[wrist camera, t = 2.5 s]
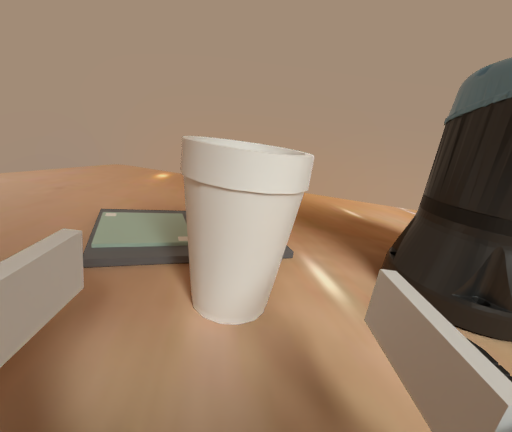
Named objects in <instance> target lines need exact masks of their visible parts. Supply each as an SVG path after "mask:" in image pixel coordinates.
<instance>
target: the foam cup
mask: <svg viewBox="0 0 512 432" xmlns="http://www.w3.org/2000/svg"><path fill="white" fill-rule="evenodd" d="M313 162H314V155H312V154H309V153H305V152H302V151H297V150H292V149H287V148H282V147H276V146H270V145H264V144H258V143H251V142H244V141H237V140H229V139H221V138H212V137H199V136H183V138H182V154H181V172H182V175H184V189H185V204H186V220H187V235H188V251H189V267H190V282H191V293H192V302H193V308H194V309H195V310H196V311H197V312H198V313H199V314H200V315H201V316H202V317H204V318H206V319H209V320H211V321H214V322H217V323H219V324H233V325H240V324H243V323H247V322H251V321H254V320H255V319H257V318H258V317H259V316H260V315H261V314H262V313H264V308H265V307H266V305H267V302H268V299H269V296H270V293H271V290H272V287H273V284H274V281H275V278H276V275H277V272H278V269H279V266H280V263H281V260H282V257H283V254H284V251H285V248H286V245H287V242H288V239H289V236H290V233H291V230H292V227H293V224H294V221H295V218H296V215H297V212H298V209H299V206H300V203H301V200H302V197H303V194H304V192H305V191H308V187H309V182H310V177H311V172H312V167H313Z"/></svg>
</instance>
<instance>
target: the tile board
mask: <svg viewBox="0 0 512 432" xmlns="http://www.w3.org/2000/svg"><path fill="white" fill-rule="evenodd" d="M292 257H293V251H292V250H291V249H290V248H289V247H288V246H287V245H286V248H285V251H284V254H283V257H282V258H292ZM169 263H189V251H188V235H187V220H186V211H169V210H127V209H101V210H100V213H99V215H98V218H97V220H96V223H95V225H94V228H93V230H92V233H91V236H90V238H89V241H88V243H87V246H86V248H85V251H84V253H83V267H104V266H126V265H148V264H169Z"/></svg>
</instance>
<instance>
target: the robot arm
mask: <svg viewBox="0 0 512 432" xmlns="http://www.w3.org/2000/svg"><path fill="white" fill-rule="evenodd" d="M444 125H445V129H444V132H443V135H442V138H441V142H440V145H439V148H438V151H437V154H436V157H435V160H434V163H433V166H432V170H431V172H430V175H429V179H428V182H427V185H426V188H425V191H424V194H423V197H422V200H421V203H420V206H419V209H418V211H417V213H416V215H415V216H414V218H413V219H412V220H411V222H410V223H409V224H408V226H407V227H406V228H405V230H404V231H403V232H402V233H401V235H400V236H399V237H398V239H397V240H396V242H395V243H394V244H393V246H392V247H391V248H390V249H389V251H388V252H387V254H386V257H385V260H384V263H383V267H382V269H380V271H379V274H378V277H377V280H376V284H375V287H374V290H373V293H372V297H371V300H370V303H369V306H368V310H367V313H366V316H365V319H364V320H365V322H366V324H367V325H368V327H369V329H370V330H371V332H372V334H373V335H374V337H375V338H376V340H377V342H378V343H379V345H380V347H381V348H382V350H383V352H384V353H385V355H386V357H387V358H388V360H389V362H390V363H391V365H392V367H393V368H394V370H395V371H396V373H397V375H398V376H399V378H400V380H401V381H402V383H403V385H404V386H405V388H406V390H407V391H408V393H409V395H410V396H411V398H412V400H413V401H414V403H415V405H416V406H417V408H418V409H419V411H420V413H421V414H422V416H423V418H424V419H425V421H426V423H427V424H428V426H429V428H430V429H431V431H432V432H512V377H511V376H510V374H509V373H508V372H507V371H506V370H505V369H504V368H503V367H502V366H501V365H498V362H497V361H496V360H494V359H493V358H492V357H491V356H490V355H489V354H488V353H487V352H486V351H485V350H484V349H482V348H481V347H479V346H478V345H476V344H475V343H473V342H472V341H470V340H469V339H467V338H465V337H464V336H463V335H462V334H461V333H460V332H459V331H458V330H457V329H456V328H455V327H454V326H453V325H456V326H458V327H461V328H464V329H466V330H469V331H472V332H475V333H478V334H482V335H485V336H489V337H492V338H497V339H501V340H507V341H512V58H509V59H505V60H502V61H499V62H496V63H494V64H491V65H489V66H486V67H484V68H482V69H480V70H478V71H476V72H475V73H473V74H472V75H471V76H469V77H468V78H467V79H466V80H465V81H464V83H463V84H462V85H461V87H460V89H459V91H458V93H457V96H456V99H455V102H454V104H453V106H452V109H451V111H450V114H449V116H448V117H447V118H446V119H445V122H444ZM83 288H84V276H83V243H82V231H80V230H73V229H65V228H63V229H61V230H59V231H57V232H56V233H54V234H52V235H50V236H48V237H46V238H44V239H42V240H41V241H39V242H37V243H35V244H33V245H31V246H29V247H28V248H26V249H24V250H22V251H20V252H18V253H16V254H14V255H13V256H11V257H9V258H7V259H5V260H3V261H1V262H0V368H1V367H2V366H3V365H4V364H5V363H6V362H7V361H8V360H9V359H10V358H11V357H12V356H13V355H14V354H15V353H16V352H17V351H18V350H19V349H20V348H22V347H23V346H24V345H25V344H26V343H27V342H28V341H29V340H30V339H31V338H32V337H33V336H34V335H35V334H36V333H37V332H38V331H39V330H40V329H41V328H42V327H43V326H44V325H46V324H47V323H48V322H49V321H50V320H51V319H52V318H53V317H54V316H55V315H56V314H57V313H58V312H59V311H60V310H61V309H62V308H63V307H64V306H65V305H66V304H67V303H68V302H69V301H71V300H72V299H73V298H74V297H75V296H76V295H77V294H78V293H79V292H80V291H81V290H82V289H83ZM452 324H453V325H452Z"/></svg>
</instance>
